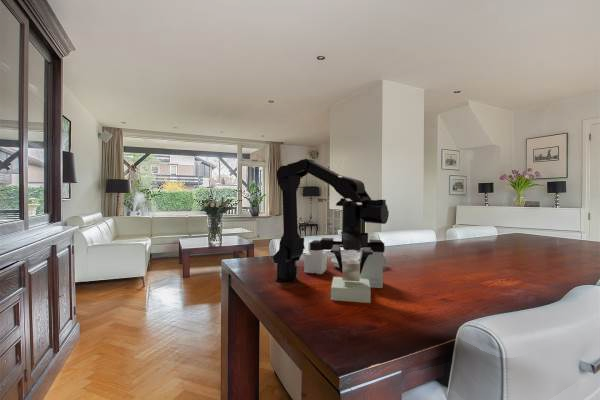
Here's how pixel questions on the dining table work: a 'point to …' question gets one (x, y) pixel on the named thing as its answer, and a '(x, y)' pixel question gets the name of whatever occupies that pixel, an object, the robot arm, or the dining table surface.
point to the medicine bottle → (315, 258)
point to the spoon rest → (354, 257)
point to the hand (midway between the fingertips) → (350, 273)
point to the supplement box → (373, 269)
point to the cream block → (351, 270)
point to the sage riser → (350, 290)
